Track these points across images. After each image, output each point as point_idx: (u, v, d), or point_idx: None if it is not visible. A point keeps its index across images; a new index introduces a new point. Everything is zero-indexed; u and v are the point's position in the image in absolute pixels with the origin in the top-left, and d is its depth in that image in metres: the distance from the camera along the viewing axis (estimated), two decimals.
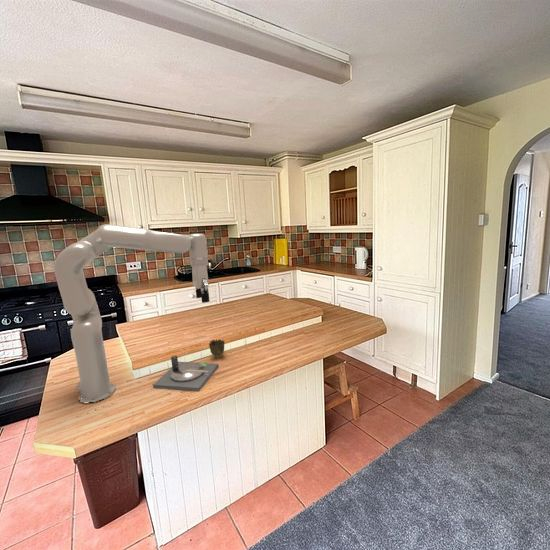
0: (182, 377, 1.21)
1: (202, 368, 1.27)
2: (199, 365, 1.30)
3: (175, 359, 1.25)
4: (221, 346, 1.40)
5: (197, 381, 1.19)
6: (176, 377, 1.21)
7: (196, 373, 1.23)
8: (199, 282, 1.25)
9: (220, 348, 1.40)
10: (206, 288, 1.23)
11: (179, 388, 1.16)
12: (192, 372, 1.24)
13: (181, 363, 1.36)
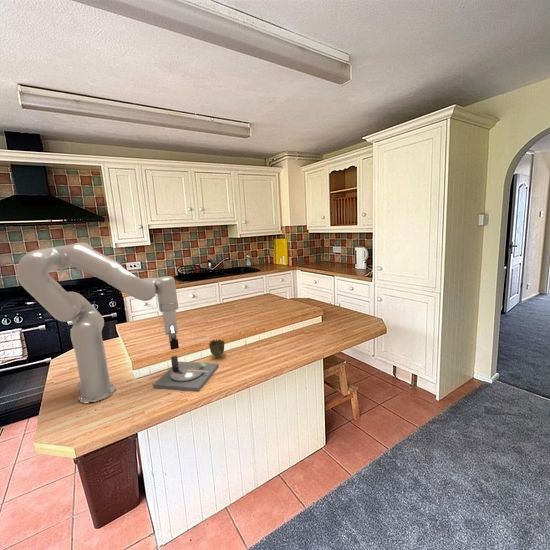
0: (182, 377, 1.21)
1: (202, 368, 1.27)
2: (199, 365, 1.30)
3: (175, 359, 1.25)
4: (221, 346, 1.40)
5: (197, 381, 1.19)
6: (176, 377, 1.21)
7: (196, 373, 1.23)
8: (167, 329, 1.18)
9: (220, 348, 1.40)
10: (173, 336, 1.17)
11: (179, 388, 1.16)
12: (192, 372, 1.24)
13: (181, 363, 1.36)
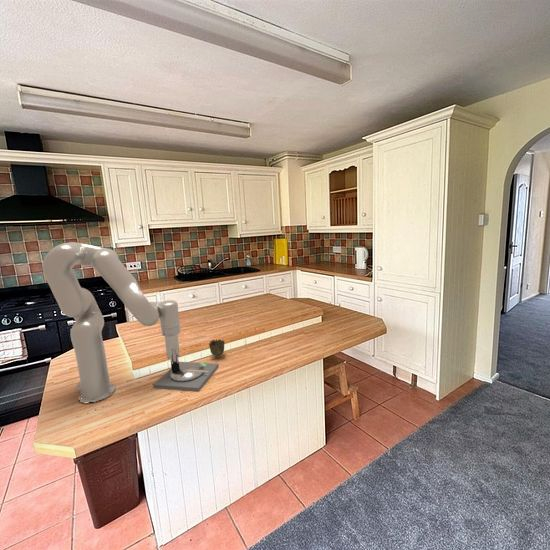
0: (182, 377, 1.21)
1: (202, 368, 1.27)
2: (199, 365, 1.30)
3: None
4: (221, 346, 1.40)
5: (197, 381, 1.19)
6: (176, 377, 1.21)
7: (196, 373, 1.23)
8: (168, 353, 1.20)
9: (220, 348, 1.40)
10: (175, 362, 1.21)
11: (179, 388, 1.16)
12: (192, 372, 1.24)
13: (181, 363, 1.36)
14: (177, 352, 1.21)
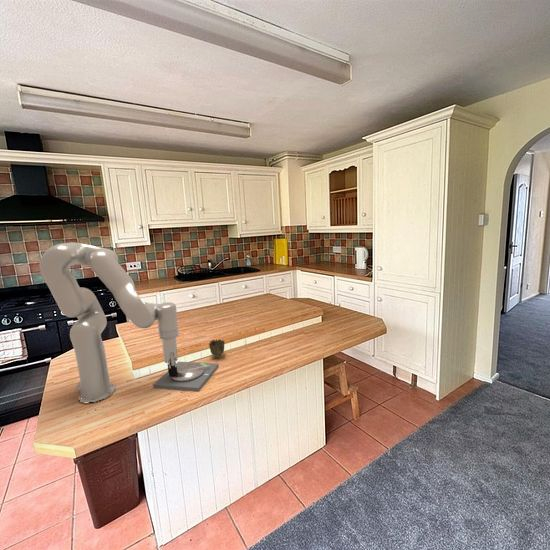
0: (190, 376, 1.21)
1: (199, 365, 1.31)
2: (193, 364, 1.32)
3: None
4: (221, 346, 1.40)
5: (197, 381, 1.19)
6: (184, 378, 1.20)
7: (200, 369, 1.26)
8: (167, 356, 1.17)
9: (220, 348, 1.40)
10: (173, 366, 1.18)
11: (179, 388, 1.16)
12: (194, 370, 1.26)
13: (181, 363, 1.36)
14: (175, 356, 1.18)
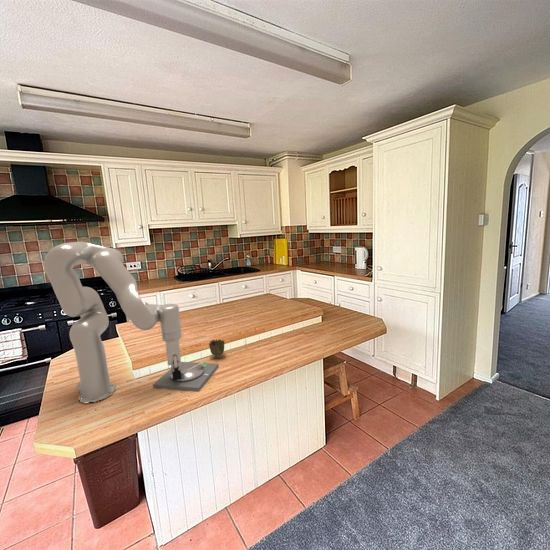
0: (196, 373, 1.23)
1: (194, 363, 1.32)
2: (186, 364, 1.31)
3: None
4: (221, 346, 1.40)
5: (197, 381, 1.19)
6: (192, 376, 1.21)
7: (199, 366, 1.29)
8: (169, 359, 1.14)
9: (220, 348, 1.40)
10: (176, 368, 1.14)
11: (179, 388, 1.16)
12: (194, 368, 1.28)
13: (181, 363, 1.36)
14: (178, 358, 1.16)
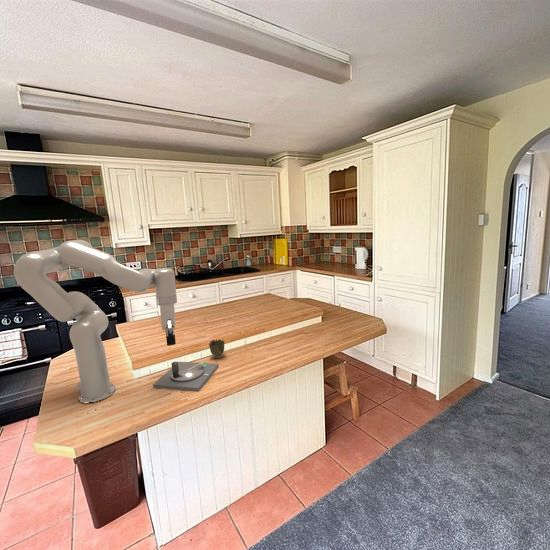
0: (196, 373, 1.23)
1: (194, 363, 1.32)
2: (186, 364, 1.31)
3: None
4: (221, 346, 1.40)
5: (197, 381, 1.19)
6: (192, 376, 1.21)
7: (200, 366, 1.29)
8: (163, 323, 1.12)
9: (220, 348, 1.40)
10: (170, 331, 1.10)
11: (179, 388, 1.16)
12: (194, 368, 1.28)
13: (181, 363, 1.36)
14: (173, 323, 1.13)
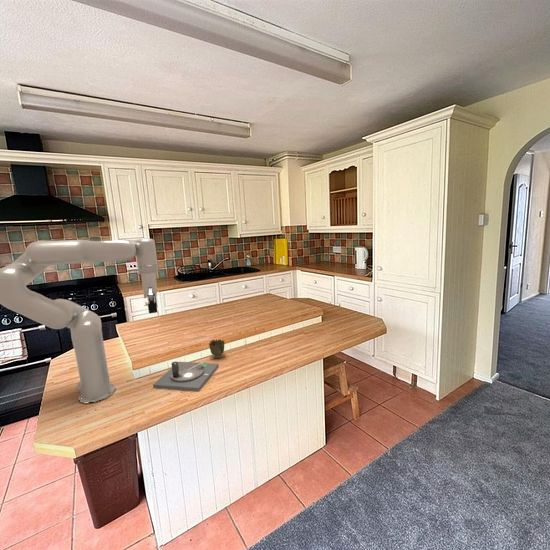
0: (196, 373, 1.23)
1: (194, 363, 1.32)
2: (186, 364, 1.31)
3: None
4: (221, 346, 1.40)
5: (197, 381, 1.19)
6: (192, 376, 1.21)
7: (200, 366, 1.29)
8: (145, 291, 1.16)
9: (220, 348, 1.40)
10: (151, 298, 1.14)
11: (179, 388, 1.16)
12: (194, 368, 1.28)
13: (181, 363, 1.36)
14: (154, 291, 1.17)
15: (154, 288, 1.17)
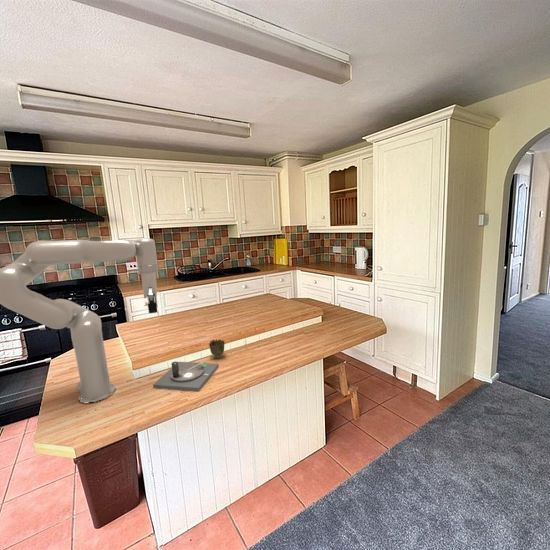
0: (196, 373, 1.23)
1: (194, 363, 1.32)
2: (186, 364, 1.31)
3: None
4: (221, 346, 1.40)
5: (197, 381, 1.19)
6: (192, 376, 1.21)
7: (200, 366, 1.29)
8: (145, 291, 1.16)
9: (220, 348, 1.40)
10: (151, 298, 1.14)
11: (179, 388, 1.16)
12: (194, 368, 1.28)
13: (181, 363, 1.36)
14: (154, 291, 1.17)
15: (154, 288, 1.17)
